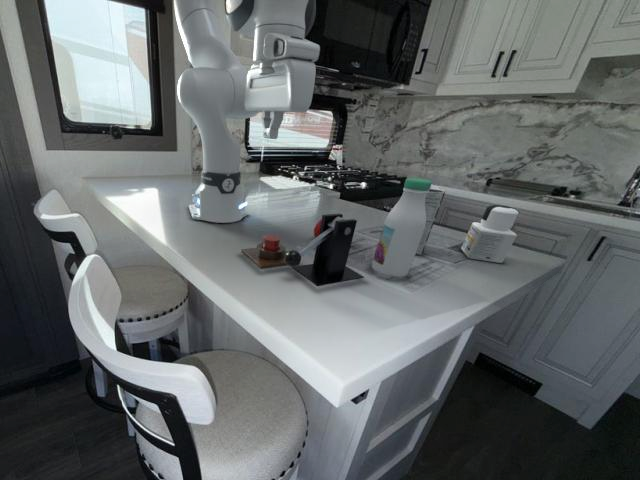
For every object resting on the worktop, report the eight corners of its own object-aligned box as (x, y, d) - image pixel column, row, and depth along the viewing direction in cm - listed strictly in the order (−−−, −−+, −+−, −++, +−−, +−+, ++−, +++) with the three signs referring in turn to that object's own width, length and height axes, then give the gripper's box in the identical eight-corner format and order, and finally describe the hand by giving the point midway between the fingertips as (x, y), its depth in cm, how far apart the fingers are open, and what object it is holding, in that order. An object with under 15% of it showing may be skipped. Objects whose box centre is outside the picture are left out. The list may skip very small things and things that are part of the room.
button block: (241, 255, 73) (241, 241, 71) (277, 251, 77) (278, 238, 75) (260, 273, 65) (261, 258, 64) (299, 267, 69) (301, 252, 67)
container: (460, 248, 86) (481, 201, 79) (491, 253, 84) (516, 205, 77) (467, 258, 80) (491, 208, 73) (502, 263, 78) (529, 212, 71)
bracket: (316, 290, 60) (329, 226, 53) (291, 271, 67) (300, 213, 60) (362, 281, 64) (380, 222, 58) (335, 264, 71) (347, 209, 65)
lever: (293, 272, 59) (288, 260, 57) (284, 265, 61) (279, 253, 59) (350, 231, 60) (347, 218, 58) (339, 226, 62) (336, 213, 60)
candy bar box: (392, 239, 90) (411, 180, 81) (410, 241, 89) (431, 182, 81) (402, 253, 80) (424, 188, 72) (422, 255, 80) (447, 190, 71)
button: (260, 246, 70) (261, 236, 69) (273, 245, 72) (274, 234, 70) (267, 252, 68) (268, 241, 66) (281, 250, 69) (283, 239, 68)
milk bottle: (409, 272, 70) (443, 180, 60) (403, 284, 64) (440, 184, 54) (374, 263, 74) (401, 174, 63) (366, 273, 68) (394, 178, 58)
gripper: (238, 57, 62) (235, 134, 69) (293, 39, 46) (282, 142, 53) (265, 61, 64) (260, 135, 71) (327, 45, 49) (312, 143, 56)
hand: (270, 138), depth 62 cm, fingers closed
